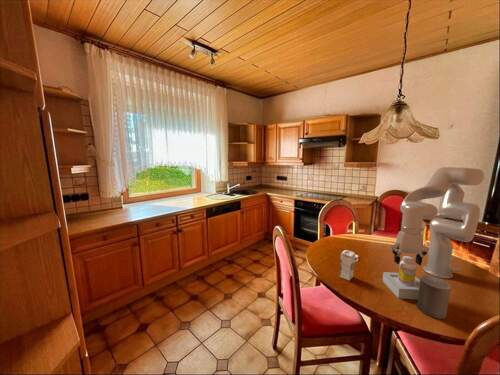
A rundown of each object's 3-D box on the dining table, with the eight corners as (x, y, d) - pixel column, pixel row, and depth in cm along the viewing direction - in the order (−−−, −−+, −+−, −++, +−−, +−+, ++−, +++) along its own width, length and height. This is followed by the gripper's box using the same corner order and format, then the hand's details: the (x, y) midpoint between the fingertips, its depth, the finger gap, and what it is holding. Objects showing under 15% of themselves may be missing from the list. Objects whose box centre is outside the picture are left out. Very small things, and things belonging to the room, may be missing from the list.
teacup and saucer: (356, 256, 138) (357, 250, 138) (361, 262, 131) (362, 256, 130) (343, 256, 139) (343, 250, 139) (347, 261, 132) (347, 255, 131)
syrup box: (343, 272, 118) (344, 249, 116) (353, 277, 114) (355, 252, 112) (338, 277, 114) (340, 252, 112) (350, 281, 110) (351, 256, 108)
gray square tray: (410, 282, 109) (411, 273, 108) (430, 300, 95) (431, 290, 94) (382, 280, 110) (383, 272, 110) (398, 298, 97) (399, 288, 96)
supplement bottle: (398, 276, 107) (400, 253, 105) (414, 281, 103) (417, 257, 101) (397, 283, 102) (399, 258, 100) (414, 288, 98) (417, 263, 96)
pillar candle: (412, 308, 90) (416, 276, 88) (422, 300, 95) (426, 270, 93) (441, 323, 82) (446, 288, 80) (450, 313, 87) (455, 280, 85)
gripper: (424, 227, 101) (421, 260, 103) (387, 227, 103) (384, 259, 105) (436, 233, 94) (432, 268, 96) (396, 232, 95) (393, 266, 98)
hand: (407, 263), depth 101 cm, fingers open, 9 cm apart
